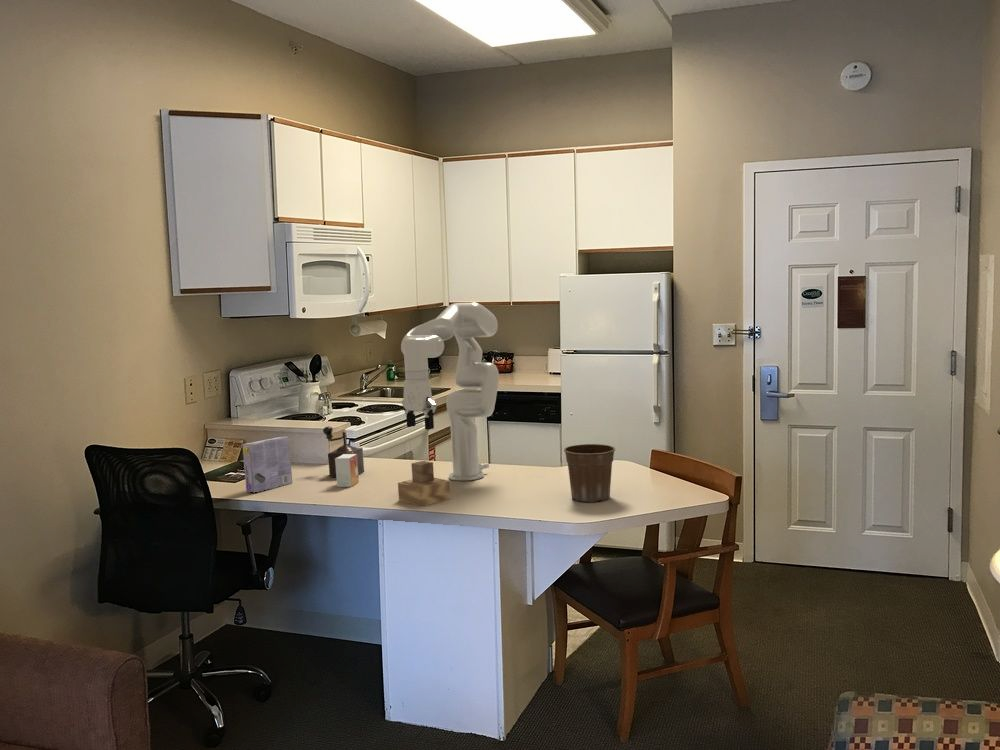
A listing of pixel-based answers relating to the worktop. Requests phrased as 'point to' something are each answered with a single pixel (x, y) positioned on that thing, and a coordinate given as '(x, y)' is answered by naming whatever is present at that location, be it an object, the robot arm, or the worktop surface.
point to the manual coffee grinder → (342, 452)
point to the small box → (346, 470)
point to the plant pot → (590, 471)
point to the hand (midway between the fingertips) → (420, 427)
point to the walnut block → (422, 471)
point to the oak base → (424, 491)
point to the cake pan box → (267, 464)
